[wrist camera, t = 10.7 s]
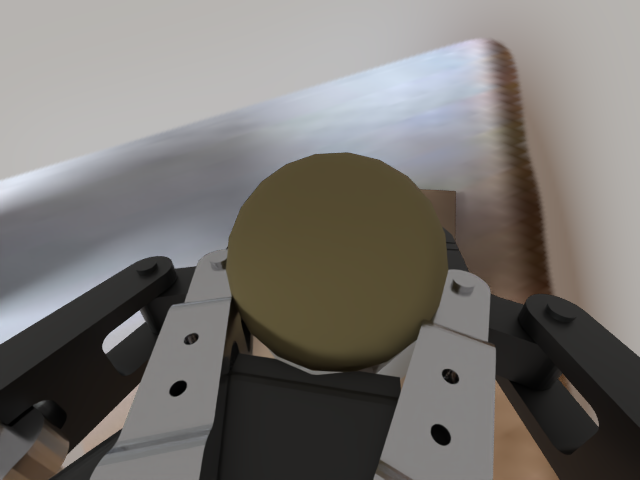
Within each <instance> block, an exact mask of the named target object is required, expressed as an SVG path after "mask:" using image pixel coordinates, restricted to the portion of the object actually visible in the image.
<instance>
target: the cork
mask: <svg viewBox="0 0 640 480" xmlns="http://www.w3.org/2000/svg"><path fill="white" fill-rule="evenodd" d="M226 273H227V277H228V282H229V287H230V291H231V296H232V297H233V301H234V304H235V307H236V309H237V311H238V312H239V314H240V316H241V318H242V319H243V321H244V323H245V324H246V326H247V328H248V330H249V331H250V333H251V334H252V335H253V336H255V337H256V338H257V339H258V340H259V341H260V342H261V343H263V344H264V345H265V346H266V347H267V348H268V349H269V350H271V351H272V352H273V353H274V354H275V355H276V356H277V357H280V358H282V359H285V360H287V361H290V362H292V363H295V364H297V365H299V366H302V367H304V368H307V369H309V370H312V371H328V372H352V371H358V370H362V369H365V368H368V367H372V366H375V365H378V364H382V363H385V362H388V361H389V360H390V359H392V358H393V357H394V356H396V355H397V354H398V353H400V352H401V351H403V350H404V349H405V348H407V347H408V346H409V345H411V344H412V343H413V342H415V341H416V340H417V338H418V335H419V332H420V329H421V326H422V322H423V319H426V320H429V321H430V320H431V318H432V317H433V315H434V314H435V312H436V311H437V309H438V308H439V305H440V301H441V297H442V294H443V290H444V286H445V282H446V278H447V274H448V260H447V248H446V237H445V232H444V230H443V228H442V226H441V223H440V221H439V219H438V217H437V214H436V212H435V210H434V208H433V205H432V203H431V201H430V200H429V199H428V198H427V197H426V196H425V195H424V194H423V193H422V191H421V190H420V189H419V188H418V187H417V186H416V185H415V184H414V183H413V181H412V180H411V179H410V178H409V177H408V176H406V175H404V174H403V173H401V172H399V171H398V170H396V169H394V168H392V167H391V166H389V165H387V164H386V163H384V162H382V161H381V160H378V159H373V158H369V157H365V156H361V155H357V154H352V153H328V154H314V155H311V156H308V157H306V158H303V159H300V160H297V161H294V162H291V163H288V164H286V165H285V166H283V167H282V168H280V169H279V170H277V171H276V172H275V173H273V174H272V175H270V176H269V177H268V178H266V179H265V180H263V181H262V182H261V183H260V184H259V186H258V187H257V188H256V189H255V191H254V192H253V193H252V194H251V196H250V197H249V198H248V199H247V201H246V202H245V203H244V204H243V206H242V207H241V209H240V211H239V214H238V216H237V219H236V221H235V224H234V226H233V228H232V231H231V233H230V236H229V242H228V252H227V263H226Z"/></svg>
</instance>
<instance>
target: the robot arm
mask: <svg viewBox="0 0 640 480" xmlns="http://www.w3.org/2000/svg"><path fill="white" fill-rule="evenodd" d="M442 228H443V230H444V232H445V237H446V248H447V260H448V274H447V278H446V282H445V286H444V290H443V294H442V297H441V301H440V305H439V308H438V309H437V311H436V312H435V314H434V315H433V317H432V318H431V320H430V321H429V320H426V319H423V322H422V326H421V329H420V332H419V335H418V338H417V342H416V345H415V348H414V351H413V355H412V358H411V361H410V364H409V368H408V371H407V374H406V377H405V380H404V384H403V387H402V390H401V383H400V377H395V376H388V375H382V374H375V373H368V372H362V371H352V372H341V373H331V374H321V375H313V374H310V373H307V372H305V371H303V370H301V369H298V368H296V367H294V366H291V365H289V364H287V363H284V362H282V361H280V360H278V359H274V358H268V357H261V356H254V355H253V335H252V334H251V333H250V331H249V330H248V328H247V326H246V324H245V323H244V321H243V319H242V318H241V316H240V314H239V312H238V311H237V309H236V307H235V304H234V301H233V297H232V296H231V291H230V287H229V282H228V277H227V273H226V263H227V252H228V247H227V248H226V249H224V250H217V251H214V252H211V253H209V254H207V255H205V256H204V257H202V258H201V259H200V260H199V262H198V264H197V266H195V267H187V268H179V269H174V266H173V263H172V261H171V260H170V259H169V258H167V257H163V256H155V257H149V258H146V259H143V260H140V261H138V262H136V263H134V264H132V265H131V266H129V267H127V268H126V269H124V270H122V271H121V272H119V273H117V274H116V275H114V276H112V277H111V278H109V279H107V280H106V281H104V282H103V283H101V284H99V285H98V286H96V287H94V288H93V289H91V290H89V291H88V292H86V293H84V294H83V295H81V296H79V297H78V298H76V299H75V300H73V301H71V302H70V303H68V304H66V305H65V306H63V307H61V308H60V309H58V310H56V311H55V312H53V313H52V314H50V315H48V316H47V317H45V318H43V319H42V320H40V321H38V322H37V323H35V324H33V325H32V326H30V327H28V328H27V329H25V330H24V331H22V332H20V333H19V334H17V335H15V336H14V337H12V338H10V339H9V340H7V341H5V342H4V343H2V344H0V480H493V451H494V409H495V379H496V381H497V382H498V384H499V386H500V387H501V389H502V390H503V392H504V393H505V395H506V396H507V398H508V400H509V401H510V403H511V404H512V406H513V407H514V409H515V411H516V412H517V414H518V415H519V417H520V418H521V420H522V421H523V423H524V425H525V426H526V428H527V429H528V431H529V432H530V434H531V436H532V437H533V439H534V440H535V442H536V443H537V445H538V446H539V448H540V450H541V451H542V453H543V454H544V456H545V457H546V459H547V461H548V462H549V464H550V465H551V467H552V468H553V470H554V471H555V473H556V475H557V476H558V478H559V479H560V480H640V357H639V356H637V355H636V354H635V353H634V352H633V351H632V350H630V349H629V348H628V347H627V346H626V345H624V344H623V343H622V342H621V341H620V340H618V339H617V338H616V337H615V336H614V335H613V334H611V333H610V332H609V331H608V330H607V329H605V328H604V327H603V326H602V325H601V324H600V323H598V322H597V321H596V320H595V319H594V318H592V317H591V316H590V315H589V314H588V313H586V312H585V311H584V310H583V309H581V308H580V307H578V306H577V305H575V304H573V303H571V302H569V301H567V300H565V299H562V298H560V297H556V296H552V295H547V294H535V295H532V296H530V297H528V299H527V300H526V302H525V304H524V305H523V304H520V303H516V302H513V301H510V300H506V299H503V298H500V297H497V296H495V295H492V294H491V293H490V288H489V286H488V285H487V284H486V283H485V281H483V280H482V279H481V278H479V277H478V276H476V275H474V274H472V273H469V271H468V269H467V266H466V264H465V262H464V260H463V258H462V255H461V253H460V251H459V249H458V247H457V244H456V242H455V240H454V238H453V236H452V234H451V233H450V232H448V231H447V230H446V229H445V228H444V227H442ZM139 310H140V312H141V314H142V315H143V317H144V319H145V321H146V322H145V323H144V324H142V325H141V326H140V327H139V328H137V329H136V330H135V331H134V332H133V333H131V334H130V335H129V336H128V337H126V338H125V339H124V340H123V341H121V342H120V343H119V344H118V345H117V346H115V347H114V348H113V349H112V350H110V351H109V352H108V353H107V354H105V353H104V352H103V349H102V344H103V341H104V339H105V338H106V336H107V335H108V334H109V333H110V332H111V331H113V330H114V329H115V328H117V327H118V326H119V325H121V324H122V323H123V322H125V321H126V320H127V319H128V318H130V317H131V316H132V315H134V314H135V313H136V312H138V311H139ZM562 373H563V374H564V375H565V377H566V378H567V379H568V380H569V381H570V382H571V384H572V385H573V386H574V387H575V388H576V389H577V390H578V392H579V393H580V394H581V395H582V396H583V397H584V398H585V400H586V401H587V402H588V403H589V404H590V405H591V407H592V408H593V410H594V411H595V413H596V415H597V418H598V421H599V427H598V426H597V425H596V424H595V422H594V421H593V420H592V419H591V418H590V417H589V415H588V414H587V413H586V412H585V410H584V409H583V408H582V407H581V406H580V404H579V403H578V402H577V401H576V400H575V399H574V397H573V396H572V395H571V394H570V393H569V391H568V390H567V389H566V388H565V387H564V385H563V384H562V383H561V382H560V381H559V380H558V378H559V377H560V376H561V374H562ZM140 382H141V383H140ZM139 383H140V385H139V388H138V390H137V393H136V395H135V398H134V400H133V403H132V406H131V408H130V411H129V413H128V416H127V418H126V421H125V424H124V426H123V428H122V429H121V430H119V431H118V432H116V433H115V434H113V435H112V436H111V437H109V438H108V439H106V440H105V441H103V442H102V443H100V444H99V445H98V446H96V447H95V448H93V449H92V450H90V451H89V452H87V453H86V454H85V455H83V456H82V457H80V458H79V459H77V460H76V461H74V462H73V463H72V464H70V465H69V466H67V467H66V468H64V466H62V463H63V462H64V460H65V458H66V455H67V454H68V453H69V452H70V451H71V450H72V449H73V448H74V447H75V446H76V445H78V444H79V443H80V442H81V441H82V440H83V439H84V438H85V437H86V436H87V435H88V434H89V433H90V432H91V431H92V430H93V429H94V428H95V427H96V426H97V425H98V424H99V423H100V422H101V421H102V420H103V419H104V418H105V417H106V416H107V415H108V414H109V413H110V412H111V411H112V410H113V409H114V408H115V407H116V406H117V405H118V404H119V403H120V402H121V401H122V400H123V399H124V398H125V397H126V396H127V395H128V394H129V393H130V392H131V391H132V390H133V389H134V388H135V387H136V386H137V385H138V384H139Z"/></svg>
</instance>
